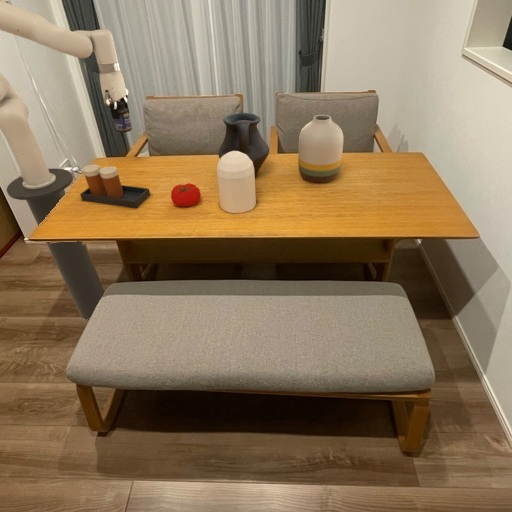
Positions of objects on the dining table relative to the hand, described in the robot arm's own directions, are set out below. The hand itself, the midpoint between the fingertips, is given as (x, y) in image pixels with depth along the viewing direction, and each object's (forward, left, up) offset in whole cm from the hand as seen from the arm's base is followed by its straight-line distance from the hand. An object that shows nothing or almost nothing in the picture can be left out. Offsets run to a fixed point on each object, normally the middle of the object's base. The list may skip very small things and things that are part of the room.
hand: (121, 115), depth 156 cm
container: (+55, -18, -23) cm, 62 cm away
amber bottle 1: (-1, -25, -22) cm, 33 cm away
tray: (+7, -25, -23) cm, 35 cm away
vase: (+80, +10, -23) cm, 84 cm away
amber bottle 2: (+7, -25, -22) cm, 34 cm away
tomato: (+36, -22, -23) cm, 48 cm away
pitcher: (+50, +5, -23) cm, 55 cm away
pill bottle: (0, 0, -6) cm, 6 cm away
